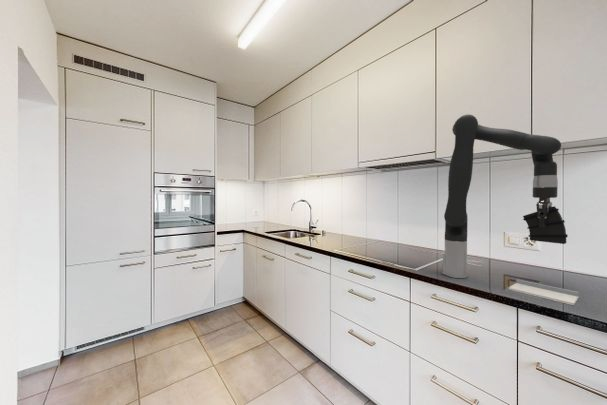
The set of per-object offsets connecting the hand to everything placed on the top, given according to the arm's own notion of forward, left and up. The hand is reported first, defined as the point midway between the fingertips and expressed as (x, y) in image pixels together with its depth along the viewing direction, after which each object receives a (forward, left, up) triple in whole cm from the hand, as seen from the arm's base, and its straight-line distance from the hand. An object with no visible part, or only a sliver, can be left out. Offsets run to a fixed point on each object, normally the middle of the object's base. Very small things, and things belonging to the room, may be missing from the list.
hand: (543, 226), depth 105 cm
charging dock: (+2, -13, -25) cm, 28 cm away
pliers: (-34, +14, -26) cm, 45 cm away
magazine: (0, 0, -7) cm, 7 cm away
